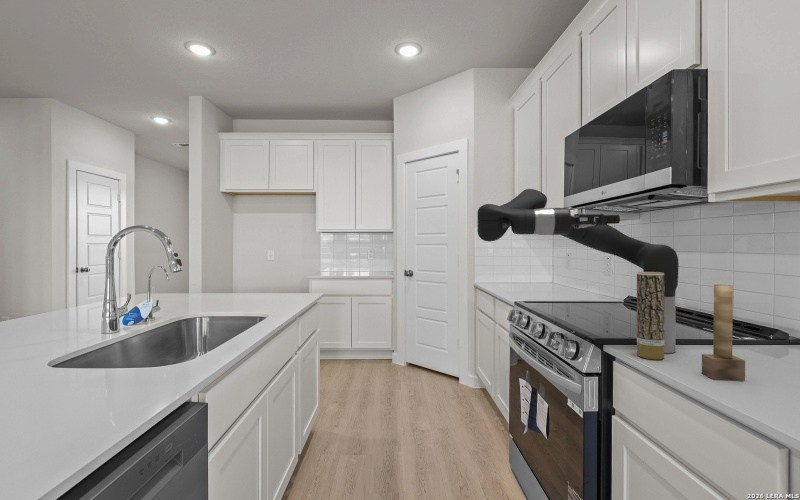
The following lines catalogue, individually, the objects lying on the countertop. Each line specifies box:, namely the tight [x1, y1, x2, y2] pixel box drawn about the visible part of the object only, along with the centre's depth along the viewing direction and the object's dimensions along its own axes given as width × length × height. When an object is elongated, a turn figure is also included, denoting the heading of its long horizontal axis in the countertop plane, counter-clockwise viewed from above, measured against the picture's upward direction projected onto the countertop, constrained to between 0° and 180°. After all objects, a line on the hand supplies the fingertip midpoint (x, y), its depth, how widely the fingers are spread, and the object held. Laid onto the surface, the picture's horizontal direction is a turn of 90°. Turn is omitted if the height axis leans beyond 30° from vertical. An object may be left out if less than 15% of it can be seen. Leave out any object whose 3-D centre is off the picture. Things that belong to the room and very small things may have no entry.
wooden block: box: [701, 353, 746, 382], centre depth 95 cm, size 7×4×5 cm, turn 80°
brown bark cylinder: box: [636, 271, 665, 361], centre depth 113 cm, size 7×7×25 cm
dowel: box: [712, 283, 734, 359], centre depth 95 cm, size 4×4×18 cm
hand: (612, 220), depth 104 cm, fingers open, 8 cm apart
